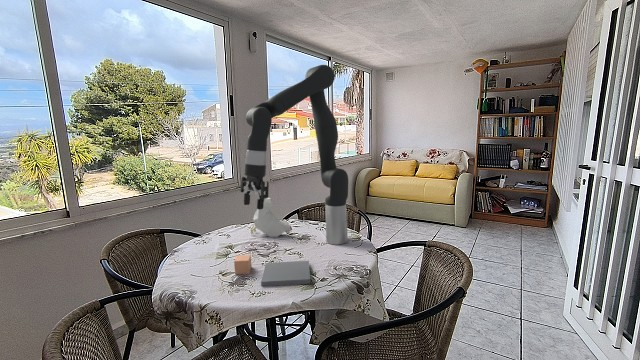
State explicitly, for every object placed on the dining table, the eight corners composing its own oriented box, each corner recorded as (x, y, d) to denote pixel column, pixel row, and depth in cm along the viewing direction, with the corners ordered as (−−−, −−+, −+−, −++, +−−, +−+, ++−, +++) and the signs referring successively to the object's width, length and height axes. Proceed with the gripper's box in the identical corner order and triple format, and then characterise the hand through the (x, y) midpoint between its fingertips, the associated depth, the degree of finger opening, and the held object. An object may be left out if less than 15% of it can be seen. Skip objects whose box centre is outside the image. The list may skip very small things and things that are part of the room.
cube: (251, 267, 112) (250, 254, 111) (249, 273, 107) (248, 260, 106) (238, 267, 111) (237, 255, 111) (235, 274, 106) (234, 261, 106)
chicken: (253, 244, 144) (291, 234, 139) (239, 207, 142) (276, 196, 137) (260, 239, 151) (295, 229, 146) (246, 203, 149) (282, 192, 144)
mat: (309, 264, 112) (308, 260, 112) (310, 283, 99) (310, 279, 98) (266, 266, 111) (266, 262, 111) (261, 286, 98) (261, 281, 97)
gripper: (276, 165, 107) (273, 209, 108) (253, 161, 116) (250, 202, 118) (258, 165, 101) (255, 211, 103) (236, 161, 111) (233, 204, 112)
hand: (253, 206), depth 110 cm, fingers open, 8 cm apart
